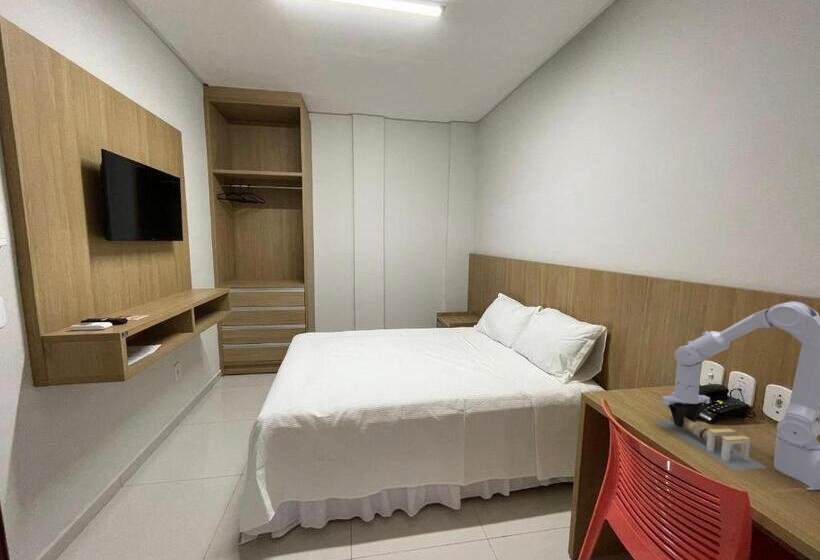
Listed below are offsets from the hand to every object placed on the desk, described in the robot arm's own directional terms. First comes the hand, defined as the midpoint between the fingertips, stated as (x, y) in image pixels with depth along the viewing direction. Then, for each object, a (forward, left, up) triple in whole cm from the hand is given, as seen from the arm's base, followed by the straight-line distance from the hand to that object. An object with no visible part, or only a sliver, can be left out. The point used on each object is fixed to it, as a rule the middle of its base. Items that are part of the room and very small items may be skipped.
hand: (683, 425), depth 104 cm
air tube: (-4, 0, -1) cm, 4 cm away
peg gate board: (-6, 0, -2) cm, 7 cm away
